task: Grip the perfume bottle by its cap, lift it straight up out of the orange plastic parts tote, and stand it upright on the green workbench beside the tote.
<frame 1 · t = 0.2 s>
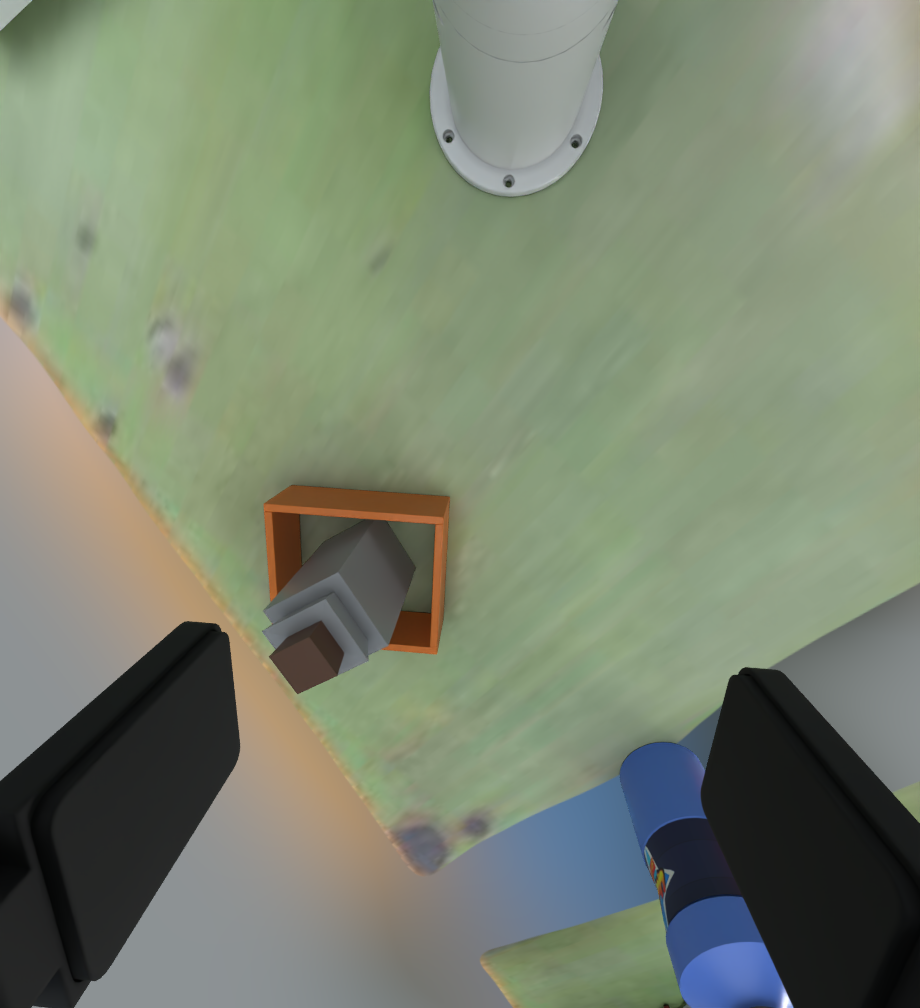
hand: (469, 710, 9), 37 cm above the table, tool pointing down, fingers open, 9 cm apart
perfume bottle: (370, 554, 49), resting in tote
water bottle: (660, 773, 55), on the table
tote: (369, 554, 49), on the table
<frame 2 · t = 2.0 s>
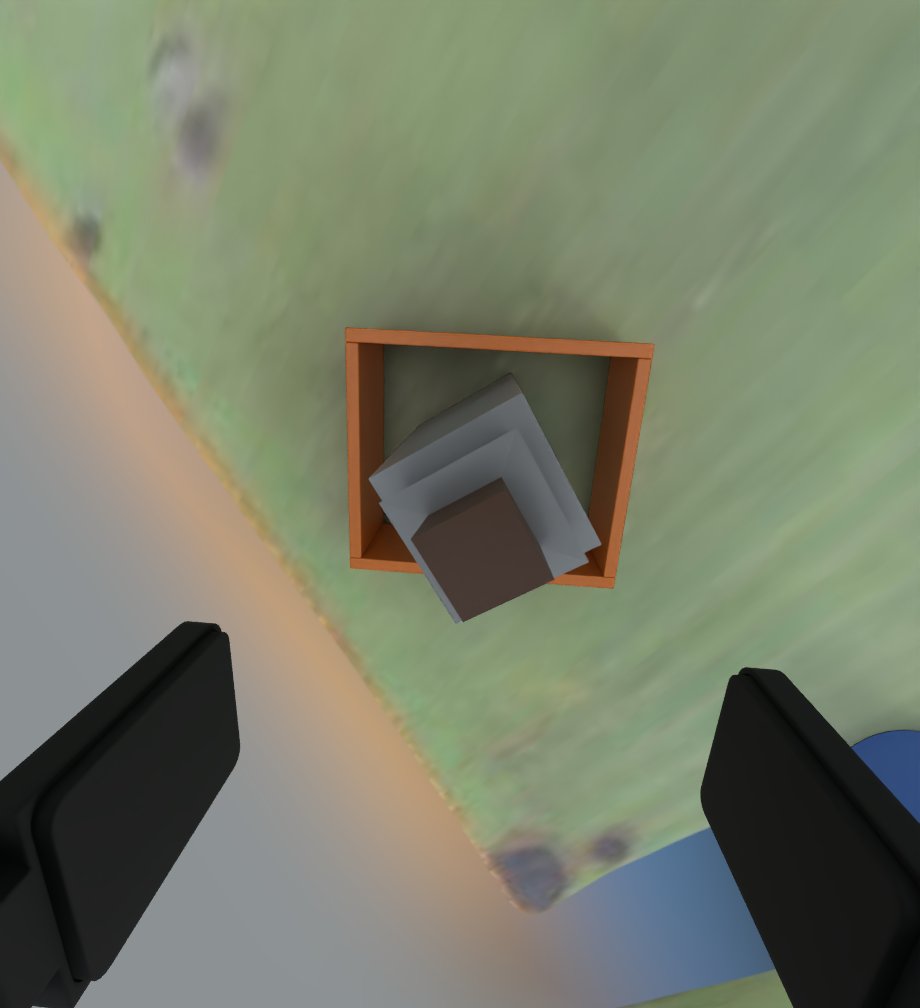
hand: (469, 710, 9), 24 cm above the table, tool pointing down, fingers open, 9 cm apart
perfume bottle: (489, 444, 32), resting in tote
water bottle: (890, 775, 38), on the table
tote: (489, 445, 32), on the table
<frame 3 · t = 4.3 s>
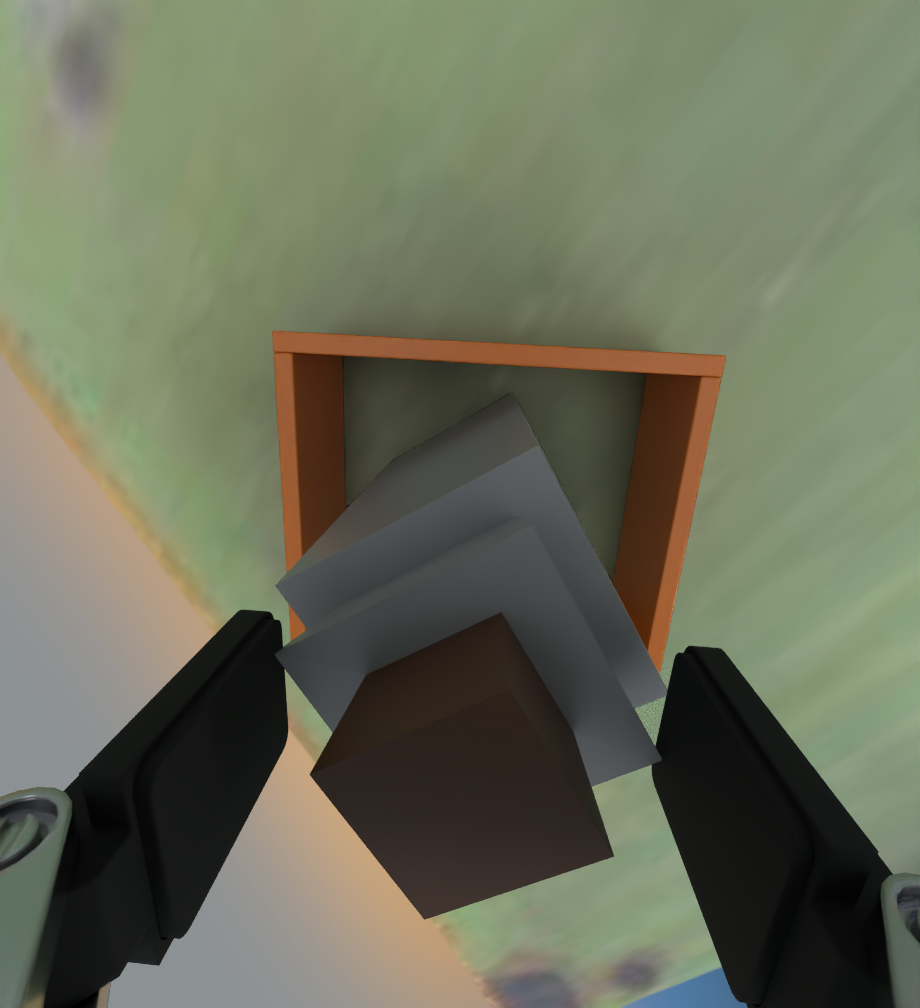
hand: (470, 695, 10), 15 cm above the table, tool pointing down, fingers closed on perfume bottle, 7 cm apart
perfume bottle: (484, 485, 24), resting in tote, touching gripper
tote: (484, 486, 24), on the table
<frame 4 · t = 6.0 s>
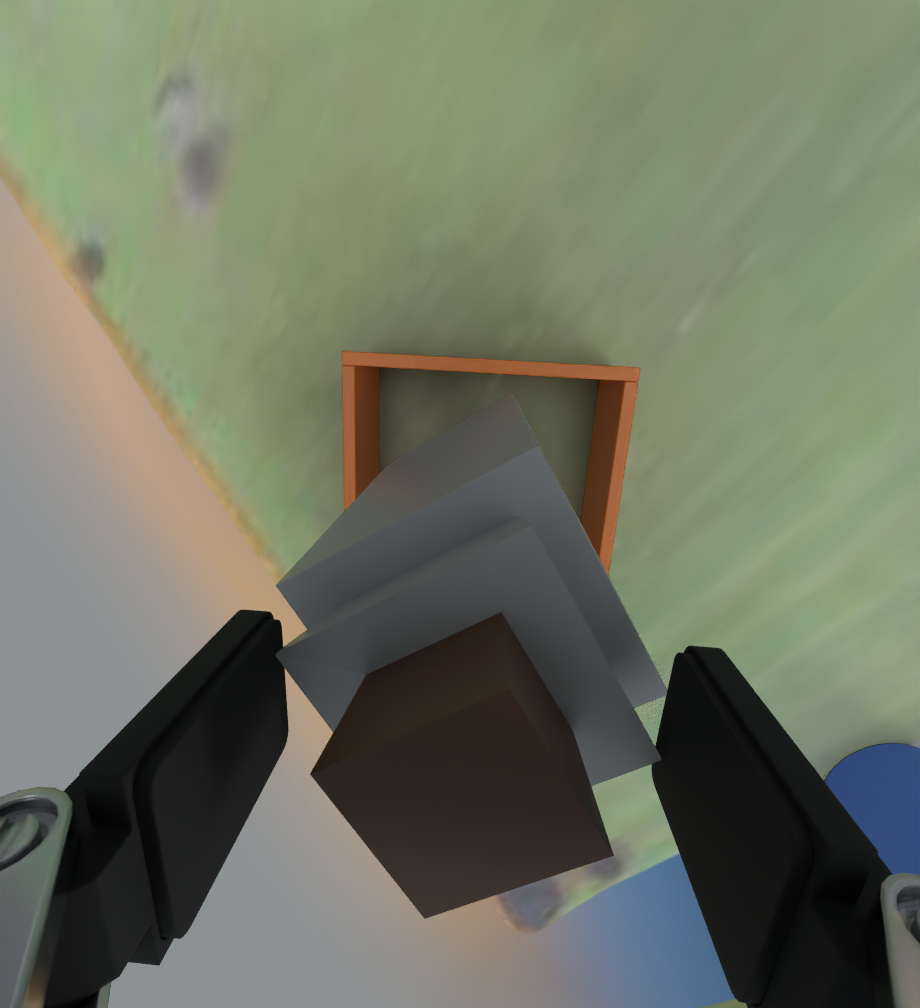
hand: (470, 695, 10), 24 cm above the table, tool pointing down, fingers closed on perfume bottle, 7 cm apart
perfume bottle: (484, 486, 24), point 8 cm above the table, touching gripper
water bottle: (880, 788, 38), on the table
tote: (482, 463, 33), on the table
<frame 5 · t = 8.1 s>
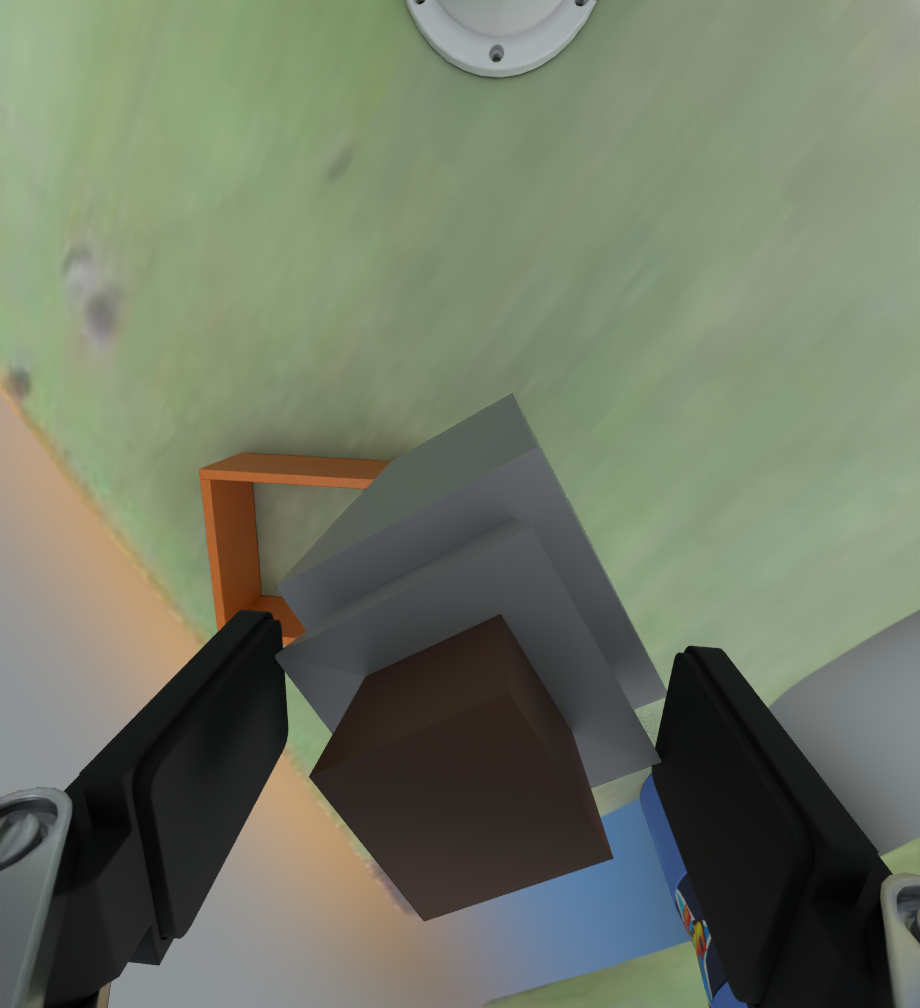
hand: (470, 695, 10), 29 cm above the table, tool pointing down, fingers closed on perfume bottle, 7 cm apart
perfume bottle: (483, 486, 24), point 14 cm above the table, touching gripper
water bottle: (688, 795, 46), on the table
tote: (338, 536, 41), on the table
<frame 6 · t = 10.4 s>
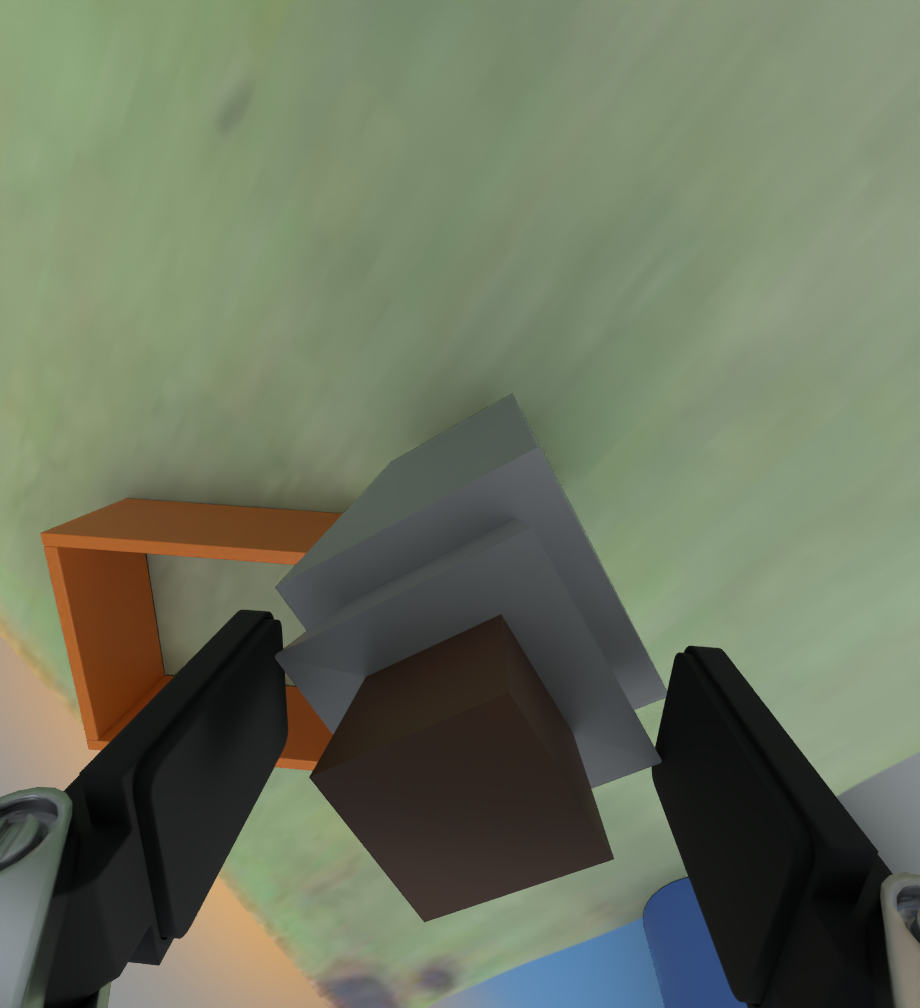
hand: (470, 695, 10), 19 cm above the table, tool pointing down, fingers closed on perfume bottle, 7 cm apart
perfume bottle: (484, 486, 24), point 4 cm above the table, touching gripper
water bottle: (702, 915, 37), on the table
tote: (257, 605, 31), on the table
when the fingers open (15 cm above the table, at t = 11.9 s): perfume bottle stays where it is, on the table.
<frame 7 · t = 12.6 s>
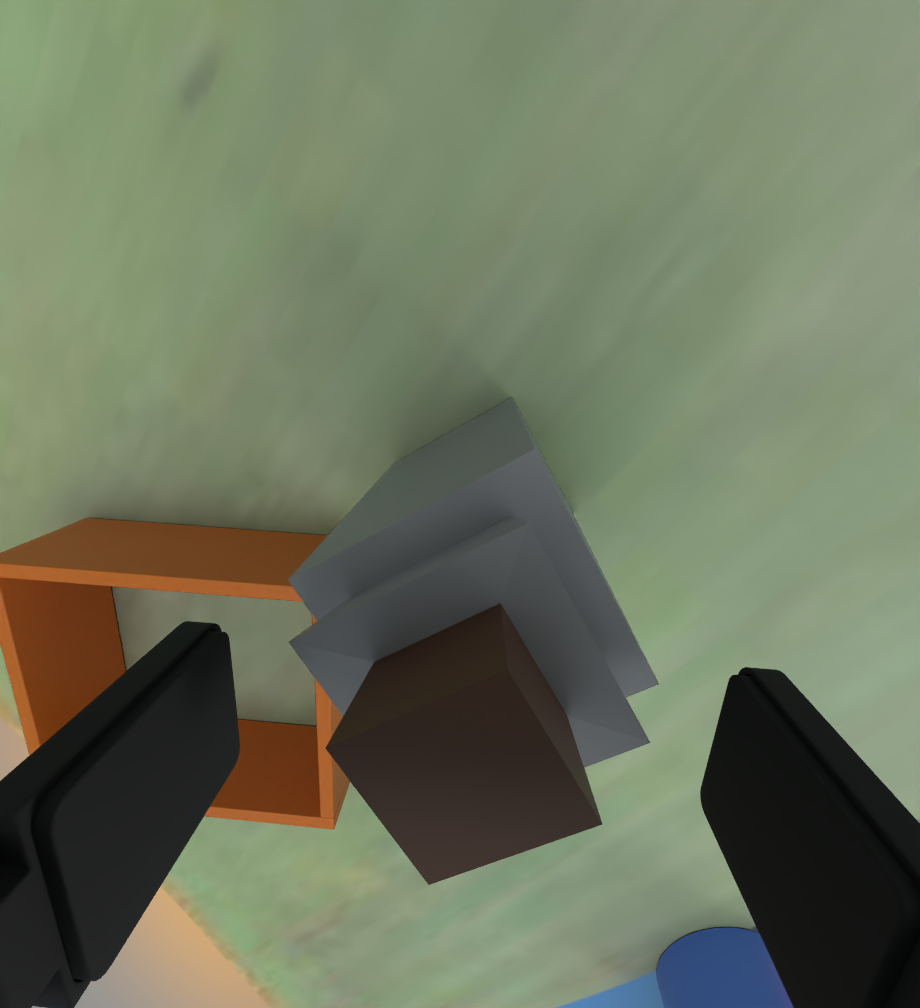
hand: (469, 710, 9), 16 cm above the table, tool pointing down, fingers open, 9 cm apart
perfume bottle: (484, 487, 25), on the table
water bottle: (721, 969, 34), on the table
tote: (233, 634, 28), on the table
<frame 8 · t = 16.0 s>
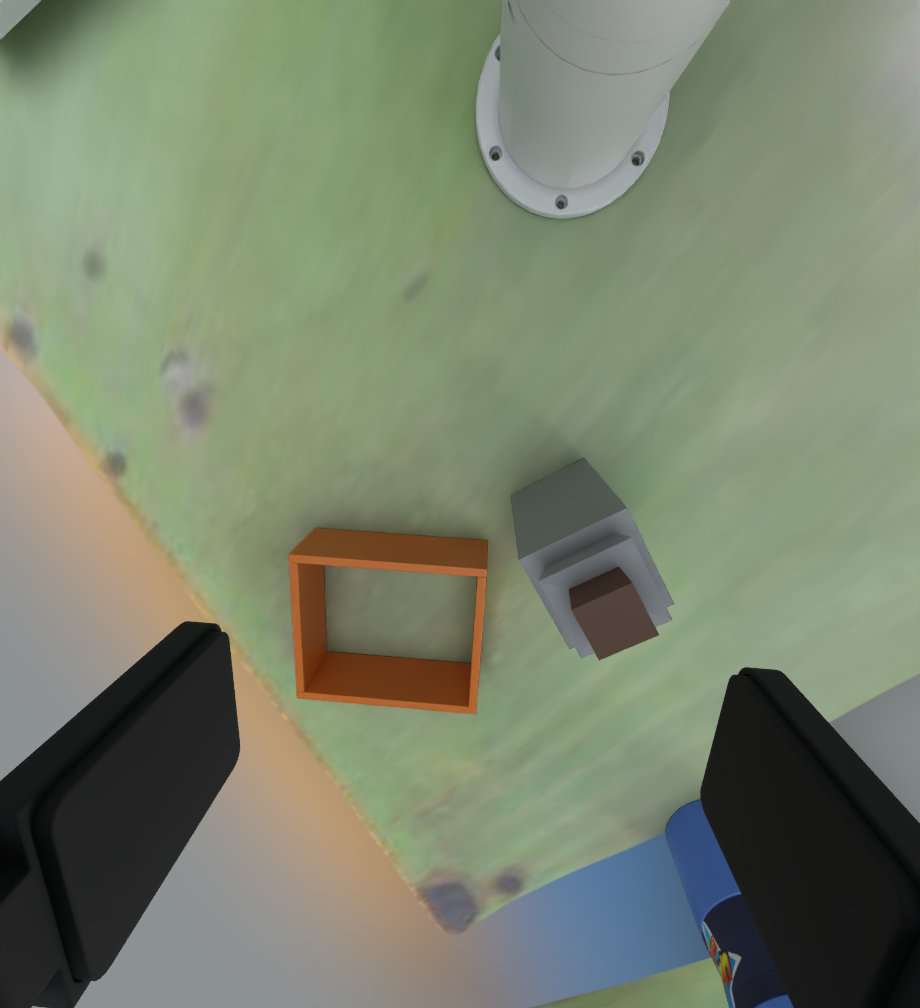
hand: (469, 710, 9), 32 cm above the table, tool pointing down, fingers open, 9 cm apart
perfume bottle: (564, 510, 42), on the table
water bottle: (709, 830, 51), on the table
tote: (399, 601, 45), on the table
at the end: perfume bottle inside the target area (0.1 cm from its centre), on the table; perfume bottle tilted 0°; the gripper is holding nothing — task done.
